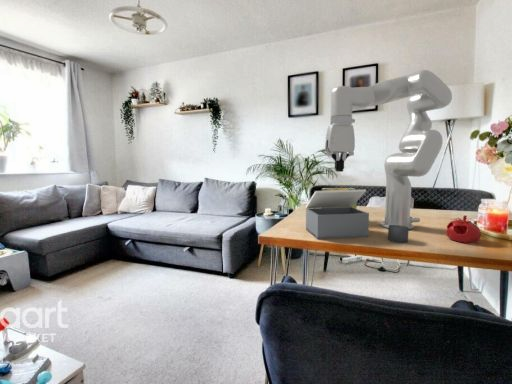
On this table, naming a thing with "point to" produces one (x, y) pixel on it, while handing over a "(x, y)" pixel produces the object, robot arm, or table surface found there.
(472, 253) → the table surface
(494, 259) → the table surface
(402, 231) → the tape roll
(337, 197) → the box lid
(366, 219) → the storage box
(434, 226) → the table surface
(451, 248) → the table surface
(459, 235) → the pomegranate
